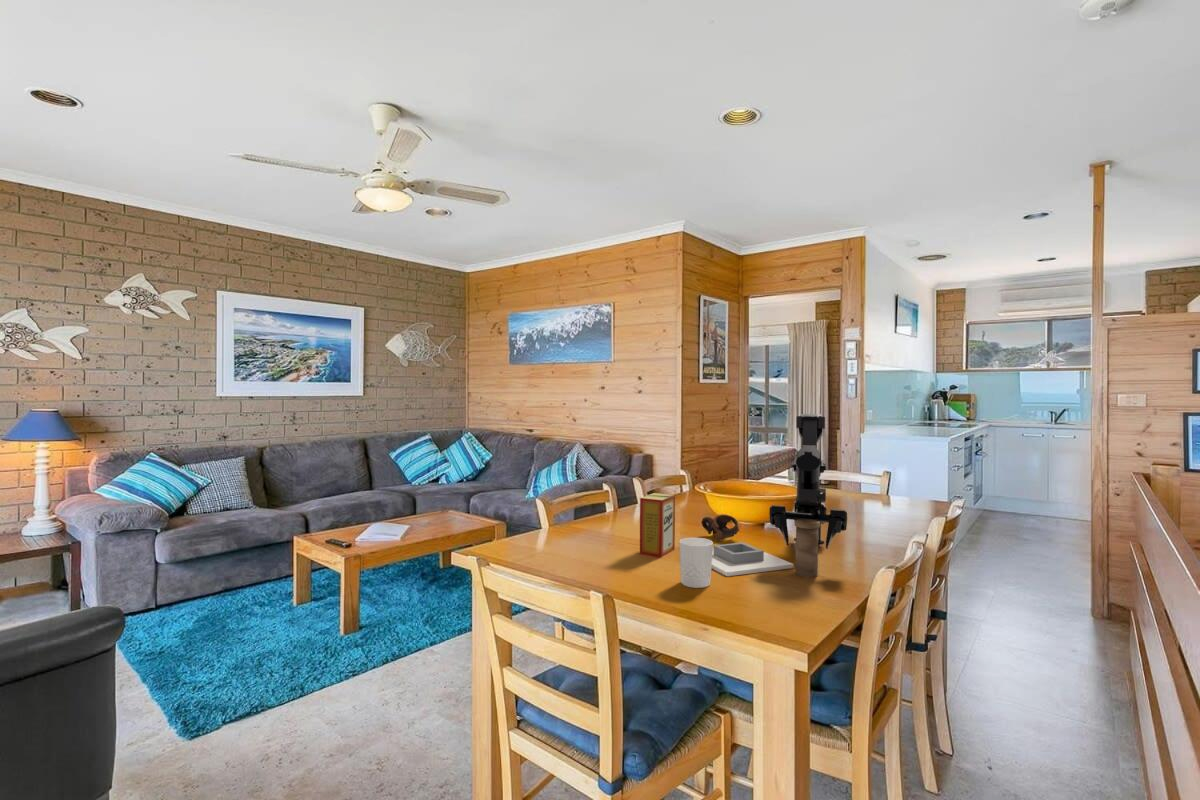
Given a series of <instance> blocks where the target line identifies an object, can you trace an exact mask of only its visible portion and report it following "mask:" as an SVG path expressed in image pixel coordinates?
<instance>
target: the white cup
mask: <svg viewBox="0 0 1200 800" xmlns="http://www.w3.org/2000/svg"><path fill="white" fill-rule="evenodd" d="M678 543H679V548H678V549H679V567H680V579H681V580H680V581H681V582H680V583H681V584H682V585H683V586H685V587H687V588H694V589H702V588H708V587H709V586H711V585H710V584H711V574H712V552H713V549H714V542H713V541H712V540H711V539H708V538H703V537H684V538H681V539H679V541H678Z"/></svg>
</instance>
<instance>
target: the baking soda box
mask: <svg viewBox="0 0 1200 800" xmlns="http://www.w3.org/2000/svg"><path fill="white" fill-rule="evenodd" d="M675 525H676V494H668V493H667V494H666V493H658V492H657V493H656V492H653V493H651V494H647V495H645V496H643V497H642V496H641V497H640V498H639V555H643V556H649V557H655V558H663V557H664V556H667V554H669V553H671V552H673V551H675V546H676V545H675V544H676V543H675V539H676V537H675V535H676V532H675V531H676V530H675V529H676V528H675V527H676V526H675Z"/></svg>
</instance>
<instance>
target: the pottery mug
mask: <svg viewBox="0 0 1200 800" xmlns="http://www.w3.org/2000/svg"><path fill="white" fill-rule="evenodd" d="M731 522H733V524H734V525H733V527H731V528H729V527H728V526H727V525H728V523H731ZM738 523H739V522H738V521H737V519H736V517H733V516H732V515H728V514H726V513H725V514H723V513H721V514H718V515H716V516H715V517H713V518H712V517H710V516H704V517H703V518H702V520H701V525H702V527H703V529H705V531H707V533H708V535H711V534H712V536H715V540H716V541H717V542H721V541H722V539H723V540H725V539H729V538H732V537H735V535H737V534H738V532H740V531H741V530H740V528H739V526H738V525H739V524H738Z"/></svg>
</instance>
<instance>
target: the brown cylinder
mask: <svg viewBox="0 0 1200 800" xmlns="http://www.w3.org/2000/svg"><path fill="white" fill-rule="evenodd" d="M794 526H795V527H796V528H795V529H796V530H795V536H796V537H795V538H796V540H795V574H796V575H798V576H801V577H804V578H805V577H807V578H814V577H818V575H819V574H818V566H819V565H818V564H819V560H818V559H819V543H818V528H820V522H818V521H815V520H809V519H798V520H795V522H794Z"/></svg>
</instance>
